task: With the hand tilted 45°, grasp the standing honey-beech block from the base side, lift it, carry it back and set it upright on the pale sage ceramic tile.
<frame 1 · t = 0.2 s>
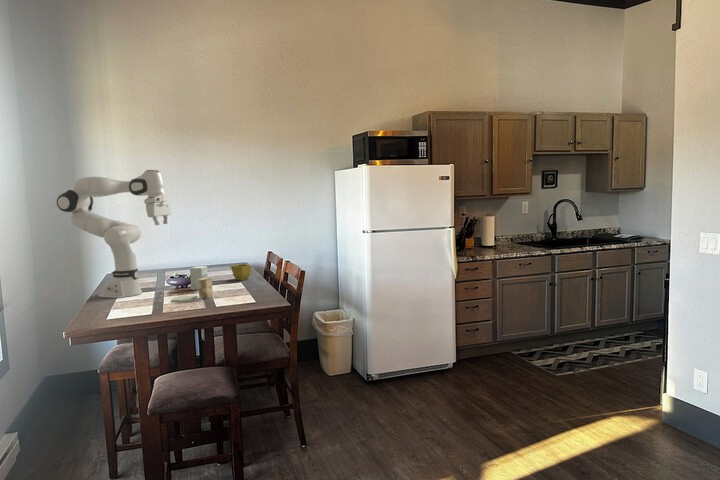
hand: (161, 224, 295), 39 cm above the table, tool pointing down, fingers open, 8 cm apart
supplement box: (200, 288, 313), on the table
flower pot: (242, 279, 336), on the table
tile: (184, 299, 284), on the table
beech block: (206, 297, 288), on the table
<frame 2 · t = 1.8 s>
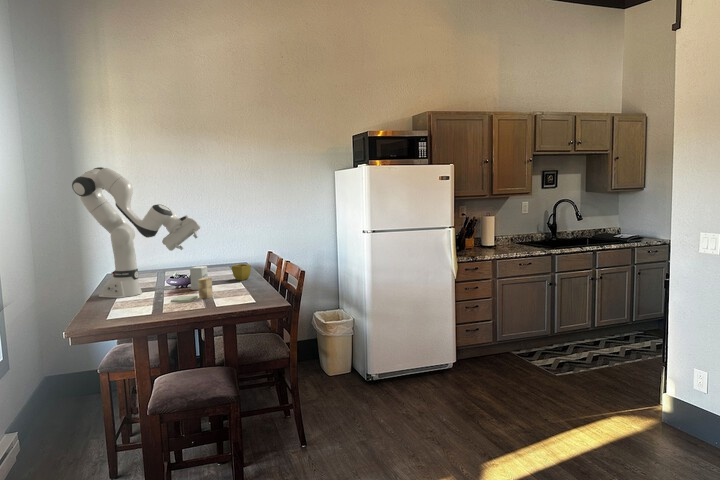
hand: (189, 243, 283), 30 cm above the table, tool tilted 60°, fingers open, 8 cm apart
nothing on the table moved.
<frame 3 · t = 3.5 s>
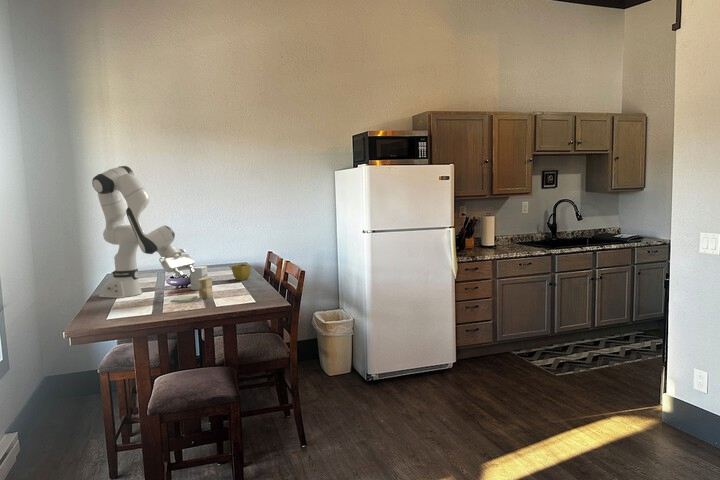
hand: (187, 274, 287), 13 cm above the table, tool tilted 45°, fingers open, 8 cm apart
nothing on the table moved.
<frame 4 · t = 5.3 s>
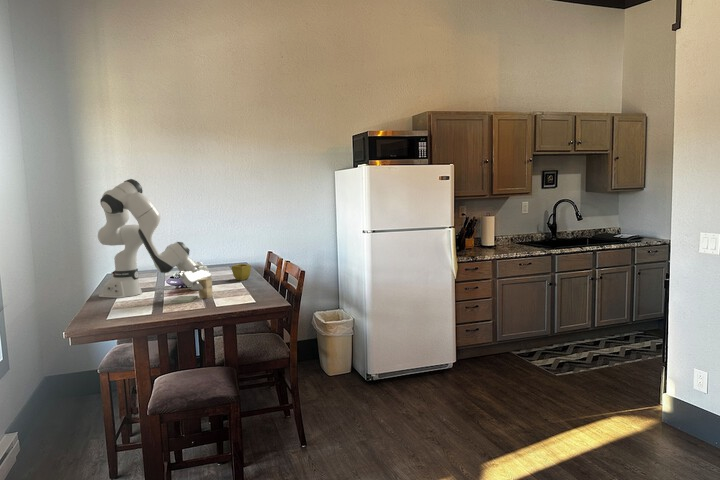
hand: (206, 287, 287), 5 cm above the table, tool tilted 45°, fingers closed on beech block, 5 cm apart
beech block: (206, 297, 288), on the table, touching gripper
everything else where it was.
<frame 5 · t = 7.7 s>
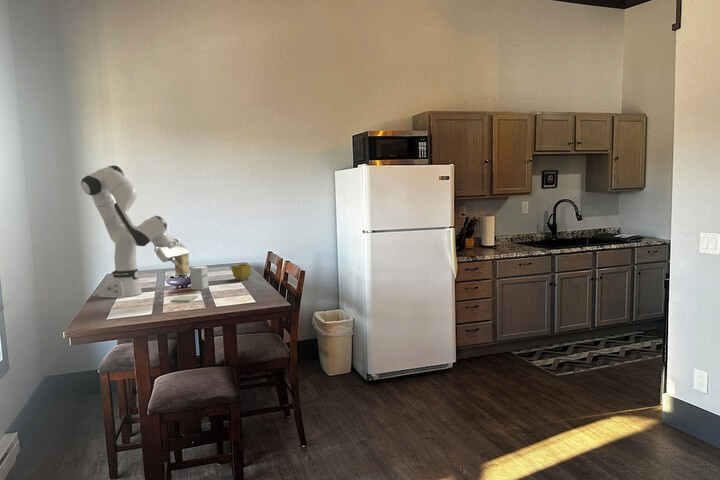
hand: (182, 263, 282), 19 cm above the table, tool tilted 45°, fingers closed on beech block, 5 cm apart
beech block: (182, 274, 282), point 14 cm above the table, touching gripper
everything else where it was.
when the fingers open (7 cm above the table, at t = 10.3 s): beech block drops 1 cm, resting on tile.
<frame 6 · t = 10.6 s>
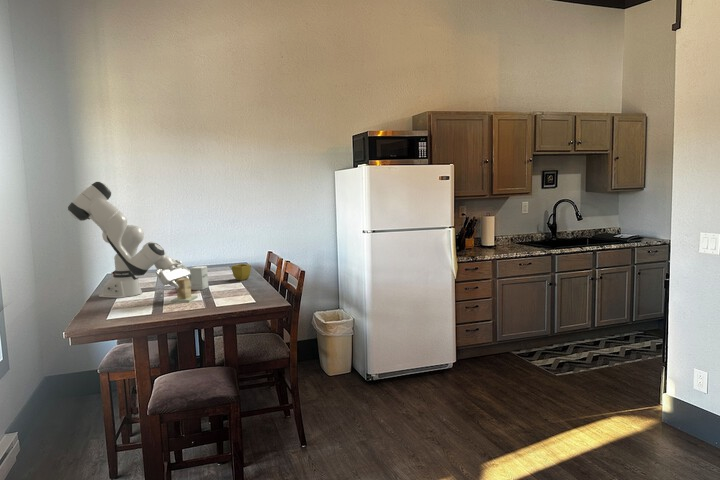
hand: (184, 286, 283), 7 cm above the table, tool tilted 45°, fingers open, 8 cm apart
beech block: (184, 297, 284), point 1 cm above the table, touching tile
everything else where it was.
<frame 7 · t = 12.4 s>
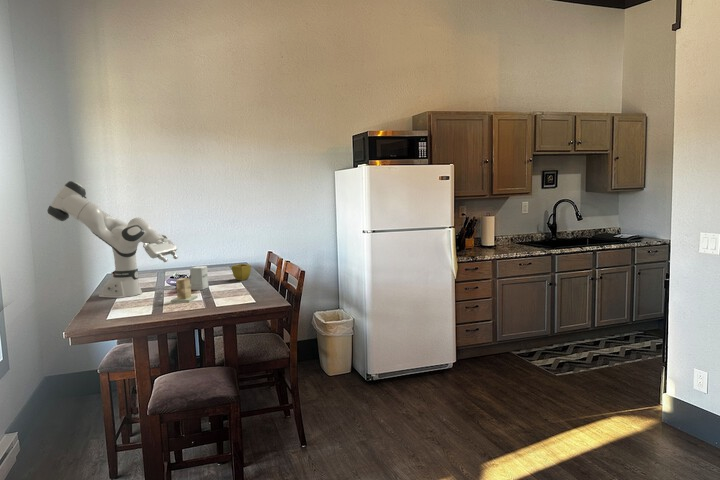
hand: (171, 259, 287), 21 cm above the table, tool tilted 45°, fingers open, 8 cm apart
nothing on the table moved.
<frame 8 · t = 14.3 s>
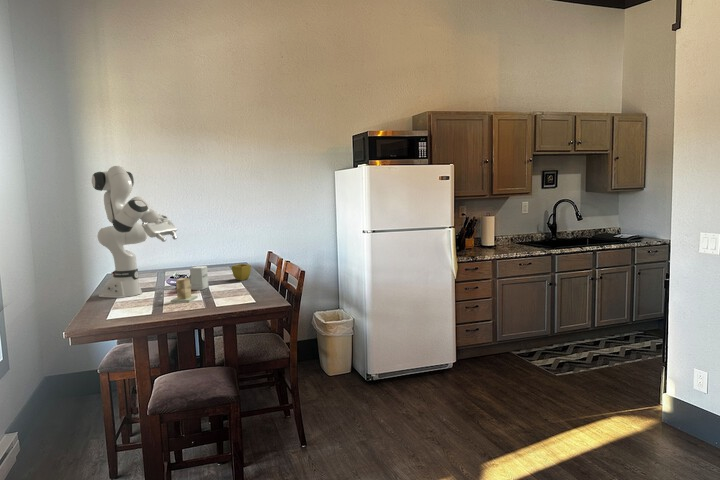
hand: (170, 239, 286), 31 cm above the table, tool tilted 45°, fingers open, 8 cm apart
nothing on the table moved.
at the end: beech block inside the target area on the tile (0.1 cm from its centre), point 1.0 cm above the tile's base; beech block tilted 0°; the gripper is holding nothing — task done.
